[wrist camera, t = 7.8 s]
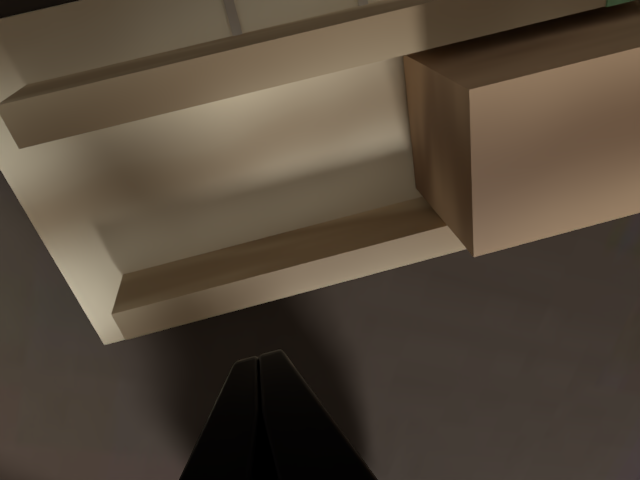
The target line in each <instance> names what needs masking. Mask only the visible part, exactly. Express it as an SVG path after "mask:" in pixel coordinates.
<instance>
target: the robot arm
mask: <svg viewBox="0 0 640 480" xmlns="http://www.w3.org/2000/svg"><path fill="white" fill-rule="evenodd" d="M179 480H378V479H377V478H376V477H375V475H374V474H373V473H372V471H371V470H370V469H369V467H368V466H367V464H366V463H365V462H364V460H363V459H362V458H361V456H360V455H359V454H358V452H357V451H356V449H355V448H354V447H353V445H352V444H351V443H350V441H349V440H348V439H347V437H346V436H345V434H344V433H343V432H342V430H341V429H340V428H339V426H338V425H337V424H336V422H335V421H334V419H333V418H332V417H331V415H330V414H329V413H328V411H327V410H326V409H325V407H324V406H323V404H322V403H321V402H320V400H319V399H318V398H317V396H316V395H315V394H314V392H313V391H312V389H311V388H310V387H309V385H308V384H307V383H306V381H305V380H304V379H303V377H302V376H301V374H300V373H299V372H298V370H297V369H296V368H295V366H294V365H293V364H292V362H291V361H290V359H289V358H288V357H287V355H286V354H285V353H284V351H282V350H281V349H278V350H274V351H270V352H267V353H263V354H261V355H260V357H259V358H258V357H257V356H252V357H249V358H245V359H241V360H238V361H236V362H235V363H234V364H233V366H232V368H231V370H230V372H229V374H228V377H227V379H226V381H225V383H224V385H223V387H222V389H221V391H220V394H219V396H218V398H217V400H216V402H215V404H214V406H213V409H212V411H211V413H210V415H209V417H208V419H207V421H206V423H205V426H204V428H203V430H202V432H201V434H200V436H199V438H198V441H197V443H196V445H195V447H194V449H193V451H192V453H191V455H190V458H189V460H188V462H187V464H186V466H185V468H184V470H183V472H182V475H181V477H180V479H179Z"/></svg>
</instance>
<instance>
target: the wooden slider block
mask: <svg viewBox="0 0 640 480" xmlns="http://www.w3.org/2000/svg"><path fill="white" fill-rule="evenodd" d="M403 61H404V71H405V81H406V92H407V102H408V113H409V123H410V134H411V144H412V155H413V165H414V175H415V186H416V189H417V190H418V191H419V193H420V194H421V195H422V196H423V197H424V199H425V200H426V201H427V202H428V203H429V204H430V206H431V207H432V208H433V209H434V210H435V212H436V213H437V214H438V215H439V216H440V218H441V219H442V220H443V221H444V222H445V224H446V225H447V226H448V227H449V228H450V229H451V231H452V232H453V233H454V234H455V235H456V237H457V238H458V239H459V240H460V241H461V243H462V244H463V245H464V246H465V247H466V249H467V250H468V251H469V252H470V253H471V254H472V256H473V257H476V256H480V255H484V254H487V253H491V252H495V251H498V250H502V249H506V248H510V247H513V246H517V245H521V244H524V243H528V242H532V241H536V240H539V239H543V238H547V237H551V236H554V235H558V234H562V233H565V232H569V231H573V230H577V229H580V228H584V227H588V226H592V225H595V224H599V223H603V222H606V221H610V220H614V219H618V218H621V217H625V216H629V215H632V214H636V213H640V0H634V1H630V2H626V3H622V4H618V5H614V6H610V7H605V6H604V7H600V8H596V9H592V10H588V11H583V12H579V13H575V14H571V15H567V16H563V17H559V18H555V19H551V20H547V21H542V22H538V23H534V24H530V25H526V26H522V27H518V28H514V29H510V30H506V31H501V32H497V33H493V34H489V35H485V36H481V37H477V38H473V39H469V40H465V41H460V42H456V43H452V44H448V45H444V46H440V47H436V48H432V49H428V50H424V51H420V52H415V53H411V54H407V55H403Z"/></svg>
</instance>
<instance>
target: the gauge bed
mask: <svg viewBox="0 0 640 480" xmlns="http://www.w3.org/2000/svg"><path fill="white" fill-rule="evenodd" d="M630 1H634V0H78V1H74V2H70V3H65V4H61V5H57V6H52V7H48V8H44V9H39V10H35V11H30V12H26V13H22V14H17V15H13V16H9V17H4V18H0V170H1V172H2V173H3V175H4V177H5V178H6V180H7V182H8V183H9V185H10V187H11V188H12V190H13V192H14V194H15V195H16V197H17V199H18V200H19V202H20V204H21V205H22V207H23V209H24V210H25V212H26V214H27V215H28V217H29V219H30V220H31V222H32V224H33V226H34V227H35V229H36V231H37V232H38V234H39V236H40V237H41V239H42V241H43V242H44V244H45V246H46V247H47V249H48V251H49V253H50V254H51V256H52V258H53V259H54V261H55V263H56V264H57V266H58V268H59V269H60V271H61V273H62V274H63V276H64V278H65V280H66V281H67V283H68V285H69V286H70V288H71V290H72V291H73V293H74V295H75V296H76V298H77V300H78V301H79V303H80V305H81V307H82V308H83V310H84V312H85V313H86V315H87V317H88V318H89V320H90V322H91V323H92V325H93V327H94V328H95V330H96V332H97V333H98V335H99V337H100V339H101V340H102V342H103V344H104V345H107V344H110V343H114V342H118V341H122V340H128V339H132V338H135V337H139V336H143V335H147V334H150V333H154V332H158V331H161V330H165V329H169V328H173V327H176V326H180V325H184V324H188V323H191V322H195V321H199V320H203V319H206V318H210V317H214V316H218V315H221V314H225V313H229V312H233V311H236V310H240V309H244V308H247V307H251V306H255V305H259V304H262V303H266V302H270V301H274V300H277V299H281V298H285V297H289V296H292V295H296V294H300V293H304V292H307V291H311V290H315V289H319V288H322V287H326V286H330V285H334V284H337V283H341V282H345V281H348V280H352V279H356V278H360V277H363V276H367V275H371V274H375V273H378V272H382V271H386V270H390V269H393V268H397V267H401V266H405V265H408V264H412V263H416V262H420V261H423V260H427V259H431V258H434V257H438V256H442V255H446V254H449V253H453V252H457V251H461V250H464V249H466V247H465V246H464V245H463V244H462V243H461V241H460V240H459V239H458V238H457V237H456V235H455V234H454V233H453V232H452V231H451V229H450V228H449V227H448V226H447V225H446V224H445V222H444V221H443V220H442V219H441V218H440V216H439V215H438V214H437V213H436V212H435V210H434V209H433V208H432V207H431V206H430V204H429V203H428V202H427V201H426V200H425V199H424V197H423V196H422V195H421V194H420V193H419V191H418V190H417V189H416V186H415V175H414V165H413V155H412V144H411V134H410V123H409V113H408V102H407V92H406V81H405V71H404V61H403V55H407V54H411V53H415V52H420V51H424V50H428V49H432V48H436V47H440V46H444V45H448V44H452V43H456V42H460V41H465V40H469V39H473V38H477V37H481V36H485V35H489V34H493V33H497V32H501V31H506V30H510V29H514V28H518V27H522V26H526V25H530V24H534V23H538V22H542V21H547V20H551V19H555V18H559V17H563V16H567V15H571V14H575V13H579V12H583V11H588V10H592V9H596V8H600V7H604V6H605V7H610V6H614V5H618V4H622V3H626V2H630Z"/></svg>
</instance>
